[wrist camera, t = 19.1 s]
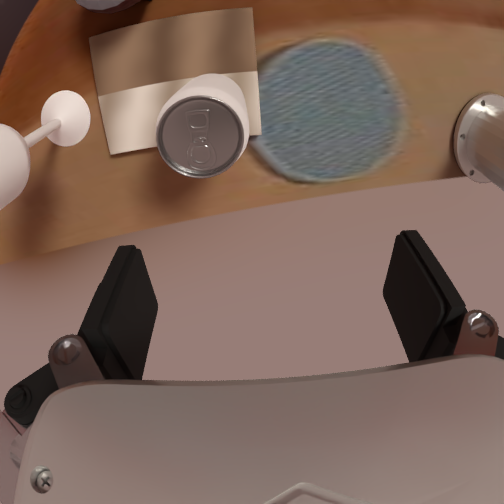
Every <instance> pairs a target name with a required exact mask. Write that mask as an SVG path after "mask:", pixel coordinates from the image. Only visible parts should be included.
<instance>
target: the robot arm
mask: <svg viewBox="0 0 504 504" xmlns="http://www.w3.org/2000/svg"><path fill="white" fill-rule="evenodd" d="M454 154H455V158H456V161H457V163H458V165H459V167H460V169H461V170H462V172H463V173H464V174H465V175H466V176H468V177H469V178H470V179H472V180H473V181H476V182H479V183H488V182H493V183H494V184H496V185H497V186H498V187H499V188H501V189H502V190H503V191H504V97H502V96H500V95H497V94H493V93H484V94H480V95H478V96H476V97H475V98H473V99H472V100H471V101H470V102H469V103H468V104H467V105H466V106H465V108H464V109H463V110H462V112H461V114H460V116H459V118H458V121H457V124H456V127H455V132H454ZM383 297H384V299H385V302H386V304H387V306H388V309H389V311H390V314H391V316H392V319H393V321H394V324H395V326H396V329H397V331H398V334H399V336H400V338H401V341H402V344H403V347H404V349H405V352H406V354H407V357H408V360H409V363H404V364H397V365H391V366H385V367H378V368H372V369H364V370H357V371H349V372H341V373H332V374H322V375H312V376H302V377H289V378H274V379H256V380H231V381H230V380H229V381H160V380H142V376H143V372H144V367H145V362H146V358H147V353H148V349H149V344H150V340H151V336H152V332H153V328H154V323H155V319H156V315H157V311H158V303H157V300H156V296H155V294H154V291H153V287H152V284H151V281H150V278H149V275H148V272H147V269H146V265H145V262H144V259H143V256H142V253H141V250H140V249H136V247H135V246H134V245H127V246H119V247H118V249H117V251H116V253H115V255H114V257H113V259H112V261H111V263H110V266H109V267H108V269H107V272H106V274H105V276H104V278H103V280H102V282H101V283H100V284H99V286H98V288H97V290H96V292H95V295H94V297H93V299H92V301H91V303H90V306H89V308H88V310H87V313H86V315H85V317H84V320H83V322H82V325H81V327H80V329H79V332H78V334H77V335H74V334H70V335H65V336H63V337H61V338H59V339H58V340H56V341H55V342H54V343H53V345H52V346H51V348H50V350H49V353H48V360H49V363H48V364H46V365H45V366H43V367H42V368H40V369H39V370H37V371H36V372H34V373H33V374H31V375H30V376H28V377H27V378H25V379H23V380H22V381H20V382H19V383H18V384H16V385H14V386H13V387H12V388H11V389H10V390H9V391H8V393H7V395H6V397H5V401H4V407H5V409H4V410H3V412H2V411H1V410H0V501H1V503H2V504H504V338H502V337H501V336H499V335H498V334H499V328H498V325H497V322H496V321H495V319H494V318H493V317H492V316H491V315H490V314H488V313H486V312H485V311H481V310H471V311H469V312H468V311H467V309H466V308H465V306H466V305H465V303H464V301H463V300H462V298H461V297H460V295H459V293H458V291H457V290H456V288H455V287H454V285H453V283H452V282H451V280H450V279H449V277H448V276H447V274H446V272H445V271H444V269H443V268H442V266H441V265H440V263H439V262H438V261H437V259H436V257H435V256H434V255H433V253H432V251H431V250H430V249H429V247H428V246H427V244H426V243H425V241H424V240H423V238H422V237H421V236H420V234H419V233H418V232H417V231H416V230H407V231H401V233H400V235H397V236H396V239H395V243H394V248H393V252H392V257H391V260H390V265H389V268H388V272H387V276H386V280H385V284H384V288H383Z"/></svg>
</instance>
